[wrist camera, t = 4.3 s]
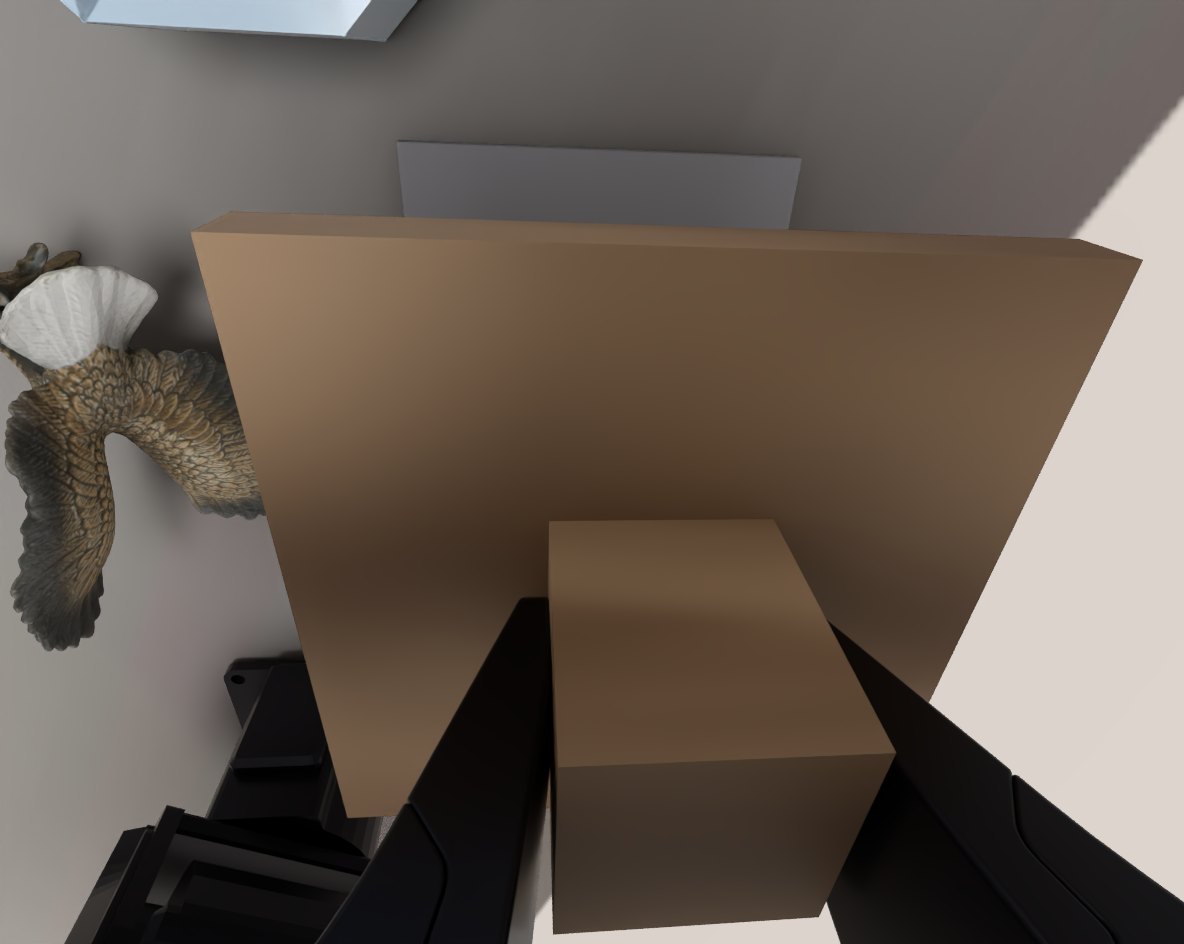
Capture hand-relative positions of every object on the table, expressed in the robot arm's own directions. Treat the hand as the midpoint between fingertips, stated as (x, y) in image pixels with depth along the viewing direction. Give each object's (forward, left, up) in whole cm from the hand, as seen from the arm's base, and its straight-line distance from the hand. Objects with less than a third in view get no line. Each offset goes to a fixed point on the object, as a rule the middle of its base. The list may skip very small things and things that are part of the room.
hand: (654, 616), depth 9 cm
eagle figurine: (-2, +13, -12) cm, 17 cm away
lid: (0, 0, -1) cm, 1 cm away
